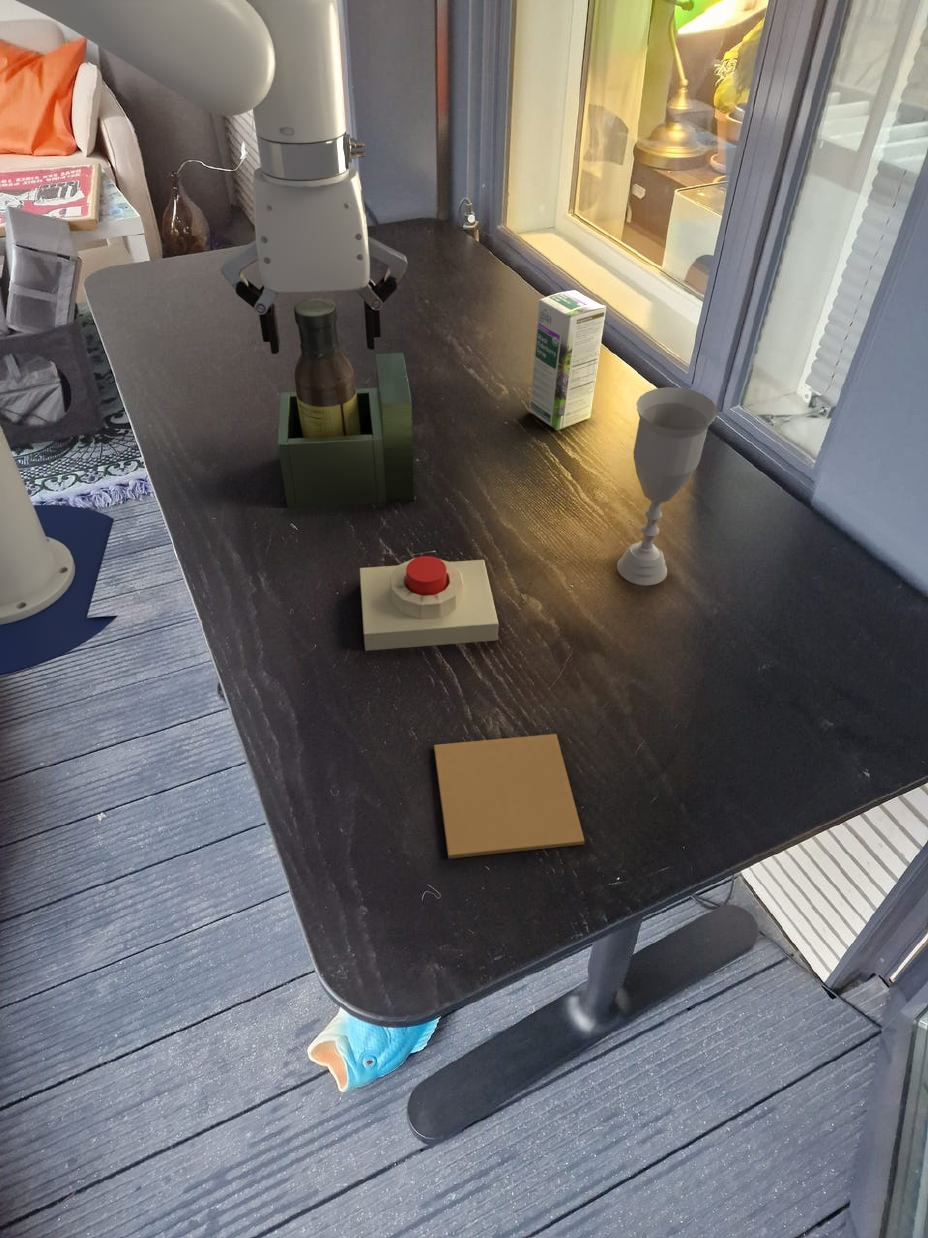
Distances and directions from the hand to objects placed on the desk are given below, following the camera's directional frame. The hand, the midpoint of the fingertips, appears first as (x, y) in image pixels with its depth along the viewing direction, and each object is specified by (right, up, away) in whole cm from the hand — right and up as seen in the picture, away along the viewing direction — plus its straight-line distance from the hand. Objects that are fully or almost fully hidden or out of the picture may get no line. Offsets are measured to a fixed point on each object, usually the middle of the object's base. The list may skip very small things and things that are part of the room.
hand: (323, 345), depth 85 cm
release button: (+11, -24, -7) cm, 27 cm away
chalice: (+32, -22, +1) cm, 39 cm away
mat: (+17, -41, -19) cm, 48 cm away
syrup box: (+26, -2, +22) cm, 34 cm away
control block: (+11, -27, -5) cm, 29 cm away
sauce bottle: (0, -12, +11) cm, 16 cm away
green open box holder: (+1, -11, +11) cm, 16 cm away
